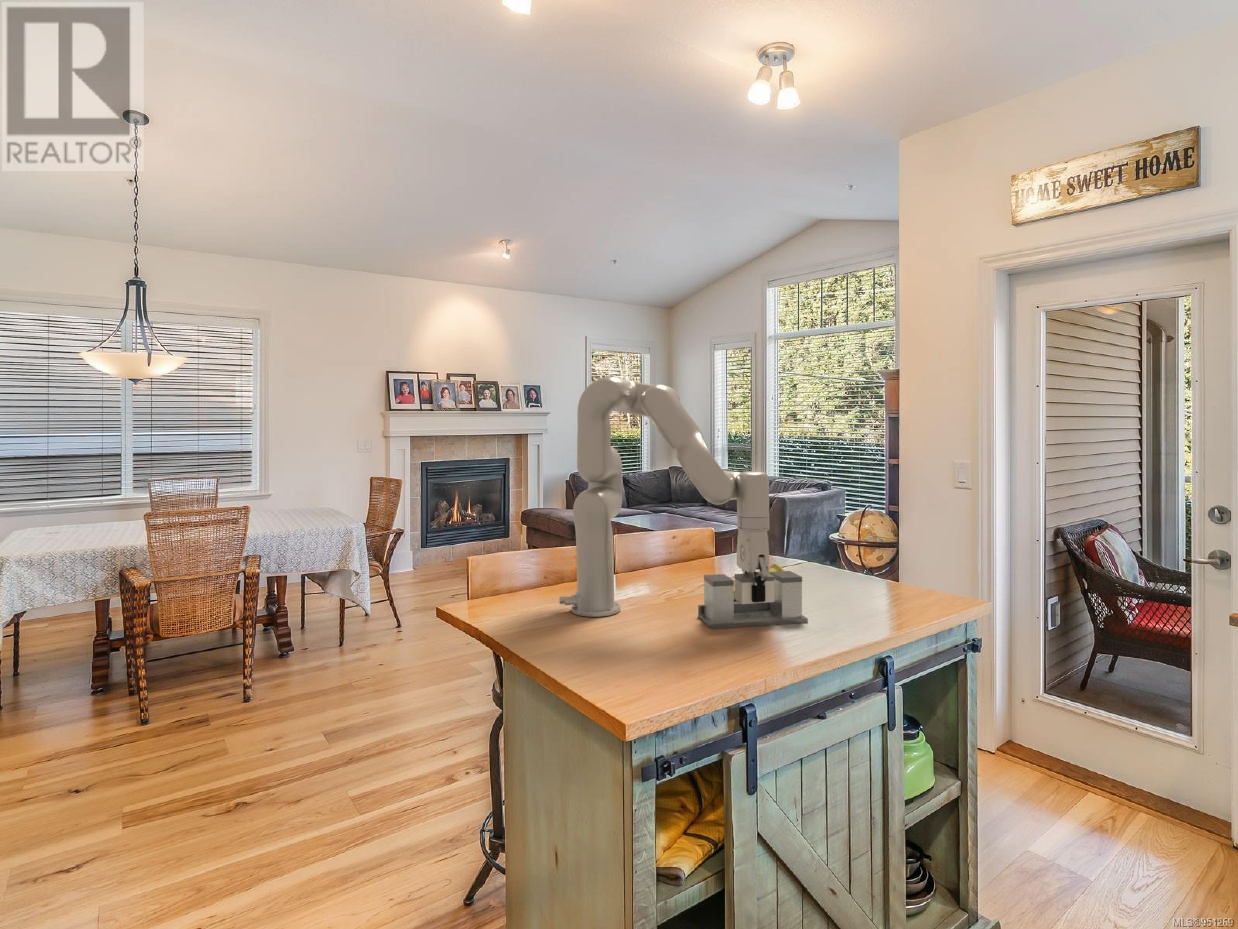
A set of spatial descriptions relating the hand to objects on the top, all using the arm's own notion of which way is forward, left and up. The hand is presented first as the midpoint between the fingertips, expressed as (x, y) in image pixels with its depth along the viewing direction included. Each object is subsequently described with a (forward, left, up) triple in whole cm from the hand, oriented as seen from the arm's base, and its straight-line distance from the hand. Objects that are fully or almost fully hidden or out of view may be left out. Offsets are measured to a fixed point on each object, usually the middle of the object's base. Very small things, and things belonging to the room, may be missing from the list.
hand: (754, 598), depth 158 cm
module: (0, 0, -1) cm, 1 cm away
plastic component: (+9, +25, -6) cm, 28 cm away
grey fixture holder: (0, +1, -6) cm, 6 cm away
